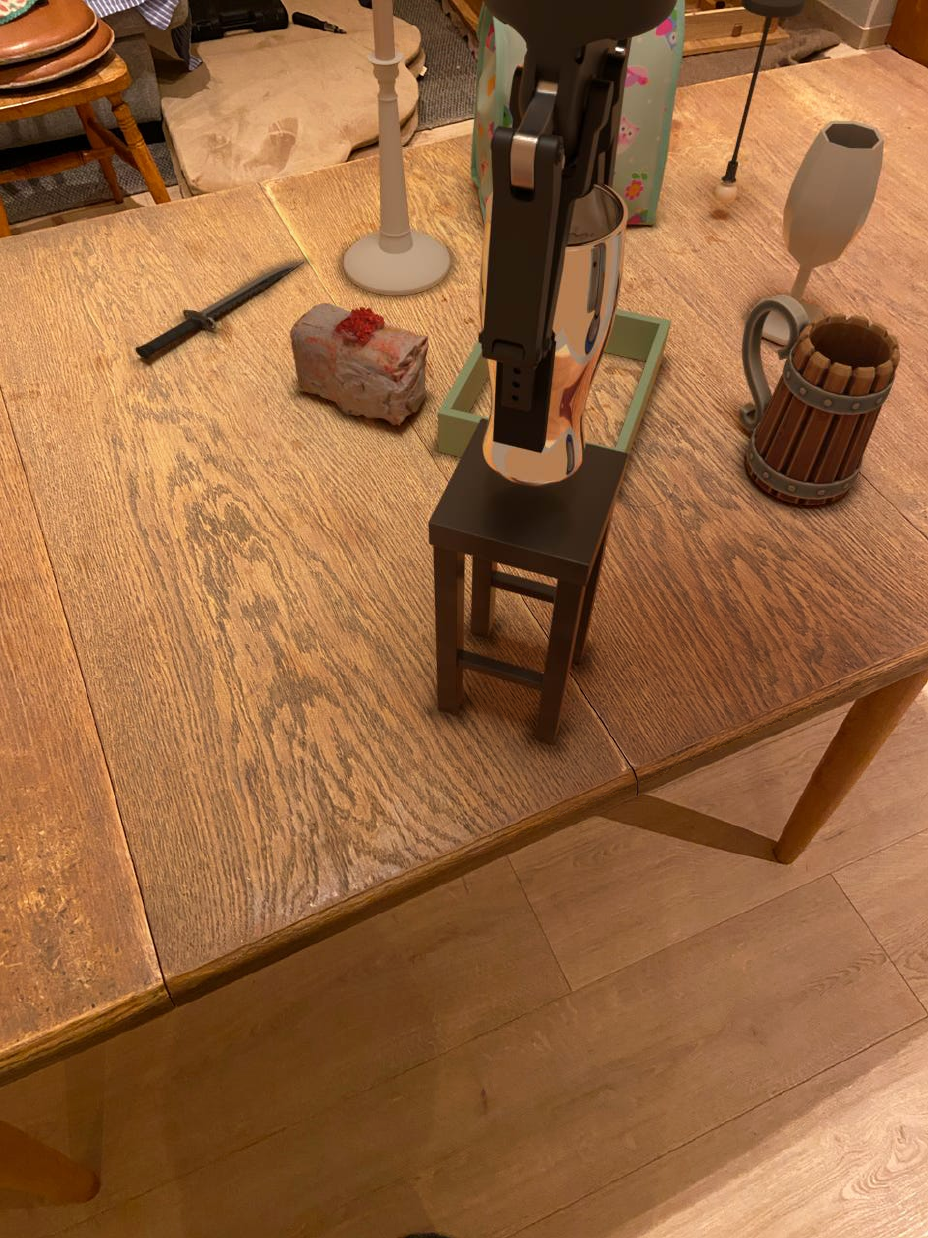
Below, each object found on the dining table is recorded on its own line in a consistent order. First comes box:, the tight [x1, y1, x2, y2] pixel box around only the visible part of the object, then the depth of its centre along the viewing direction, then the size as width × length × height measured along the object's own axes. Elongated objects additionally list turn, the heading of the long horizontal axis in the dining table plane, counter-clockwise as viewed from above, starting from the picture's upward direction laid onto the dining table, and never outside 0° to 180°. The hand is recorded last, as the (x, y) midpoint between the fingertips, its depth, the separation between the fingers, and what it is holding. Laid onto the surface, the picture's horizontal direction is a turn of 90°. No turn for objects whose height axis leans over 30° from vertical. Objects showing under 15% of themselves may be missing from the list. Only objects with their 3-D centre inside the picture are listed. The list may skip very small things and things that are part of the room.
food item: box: [289, 302, 430, 426], centre depth 90 cm, size 14×8×10 cm, turn 64°
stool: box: [427, 418, 629, 745], centre depth 64 cm, size 10×10×22 cm
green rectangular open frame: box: [437, 308, 672, 458], centre depth 91 cm, size 18×22×5 cm
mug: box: [737, 293, 901, 506], centre depth 83 cm, size 16×11×15 cm
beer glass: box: [478, 182, 628, 487], centre depth 47 cm, size 7×7×15 cm
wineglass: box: [748, 120, 885, 346], centre depth 93 cm, size 9×9×21 cm
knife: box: [135, 261, 304, 360], centre depth 102 cm, size 25×2×5 cm
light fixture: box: [714, 0, 808, 205], centre depth 105 cm, size 7×7×25 cm
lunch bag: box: [470, 0, 686, 226], centre depth 106 cm, size 23×16×27 cm
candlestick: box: [343, 0, 451, 296], centre depth 96 cm, size 13×13×30 cm
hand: (539, 397), depth 50 cm, fingers closed on beer glass, 7 cm apart
